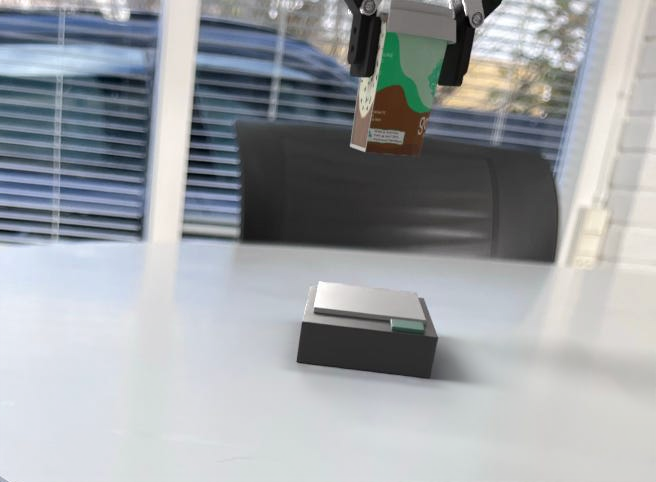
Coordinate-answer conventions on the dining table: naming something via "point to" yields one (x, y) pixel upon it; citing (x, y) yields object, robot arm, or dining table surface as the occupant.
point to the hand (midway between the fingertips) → (405, 79)
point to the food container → (402, 78)
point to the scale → (367, 330)
